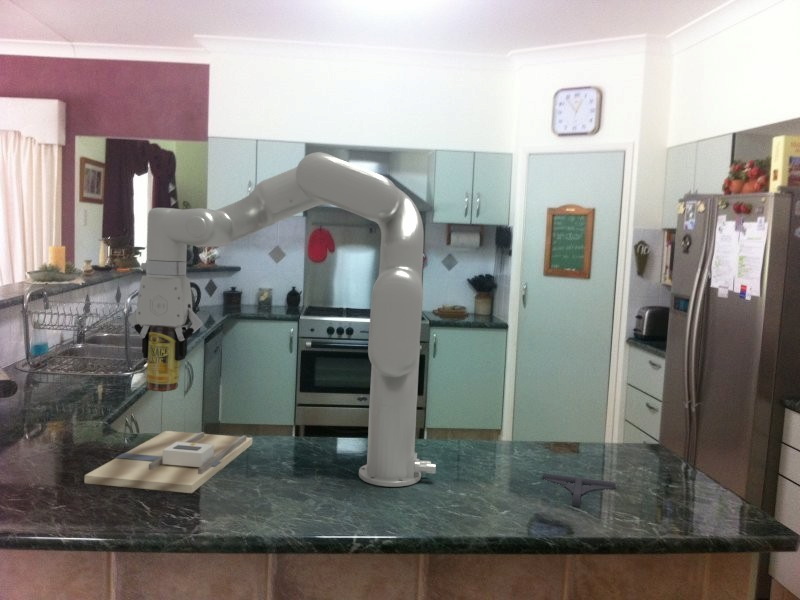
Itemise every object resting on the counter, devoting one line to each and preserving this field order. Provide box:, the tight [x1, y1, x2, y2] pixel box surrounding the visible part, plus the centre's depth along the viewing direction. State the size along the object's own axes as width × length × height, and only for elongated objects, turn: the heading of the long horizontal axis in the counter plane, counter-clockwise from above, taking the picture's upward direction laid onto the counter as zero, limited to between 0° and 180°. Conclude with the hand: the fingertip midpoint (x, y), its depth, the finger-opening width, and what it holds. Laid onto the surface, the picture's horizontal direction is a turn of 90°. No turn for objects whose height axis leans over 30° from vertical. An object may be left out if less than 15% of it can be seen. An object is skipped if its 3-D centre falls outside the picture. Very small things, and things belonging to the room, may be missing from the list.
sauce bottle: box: [145, 326, 181, 393], centre depth 136 cm, size 6×6×20 cm
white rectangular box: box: [163, 442, 214, 467], centre depth 135 cm, size 6×8×3 cm
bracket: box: [542, 472, 616, 508], centre depth 131 cm, size 14×15×3 cm
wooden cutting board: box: [83, 430, 253, 494], centre depth 140 cm, size 21×32×2 cm, turn 173°
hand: (164, 357), depth 136 cm, fingers closed on sauce bottle, 6 cm apart
